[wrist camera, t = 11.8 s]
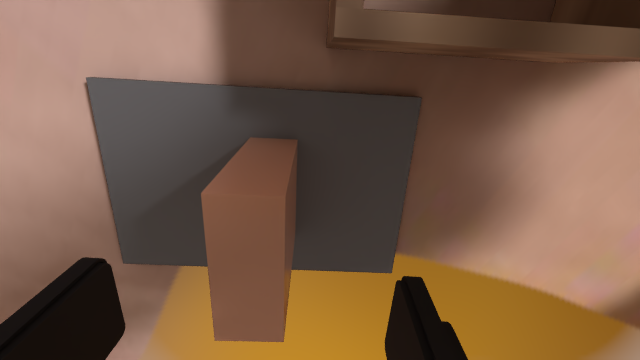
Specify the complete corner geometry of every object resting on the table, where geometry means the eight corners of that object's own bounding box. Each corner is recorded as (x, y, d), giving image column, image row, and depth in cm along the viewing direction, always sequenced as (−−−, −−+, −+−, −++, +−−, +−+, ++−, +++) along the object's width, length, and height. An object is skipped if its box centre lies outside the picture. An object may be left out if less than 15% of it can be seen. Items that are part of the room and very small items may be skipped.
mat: (418, 96, 19) (421, 97, 19) (389, 268, 24) (391, 273, 23) (92, 77, 18) (85, 77, 18) (128, 258, 23) (123, 263, 22)
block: (297, 139, 19) (285, 196, 11) (295, 235, 22) (283, 342, 13) (250, 137, 19) (200, 193, 11) (253, 233, 22) (214, 340, 13)
